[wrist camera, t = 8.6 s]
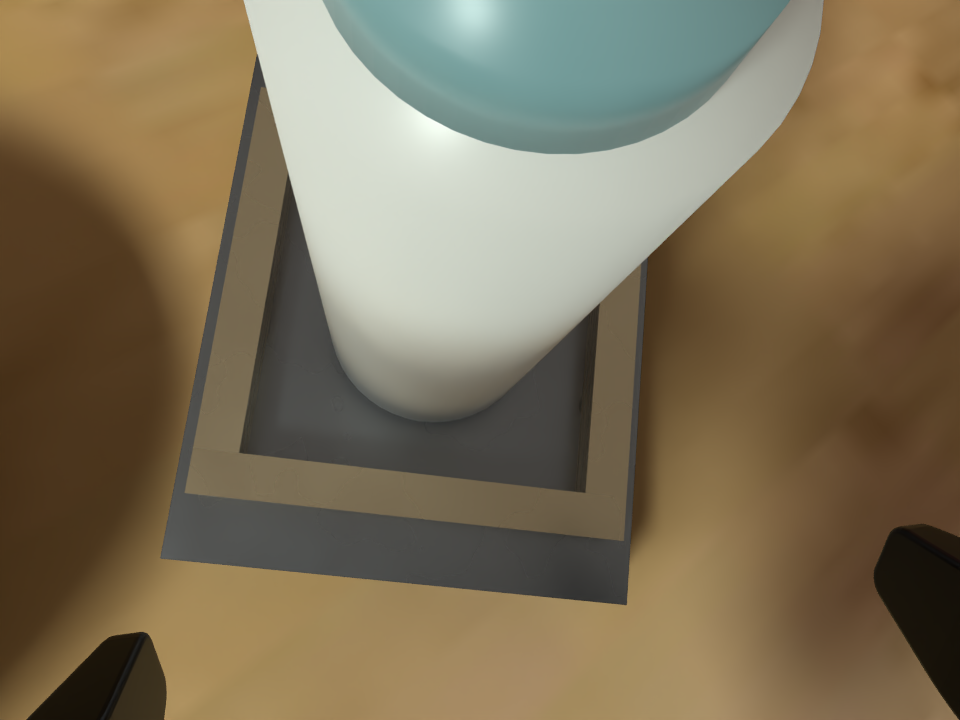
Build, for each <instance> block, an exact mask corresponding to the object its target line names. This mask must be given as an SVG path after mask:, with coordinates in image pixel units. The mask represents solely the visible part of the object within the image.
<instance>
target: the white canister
mask: <svg viewBox="0 0 960 720" xmlns="http://www.w3.org/2000/svg"><path fill="white" fill-rule="evenodd" d="M823 2H824V0H244V3H245V7H246V11H247V15H248V19H249V23H250V26H251V30H252V34H253V38H254V42H255V46H256V50H257V53H258V57H259V61H260V65H261V69H262V73H263V77H264V80H265V84H266V88H267V92H268V96H269V100H270V104H271V107H272V111H273V115H274V119H275V123H276V127H277V131H278V134H279V138H280V142H281V146H282V150H283V154H284V158H285V161H286V165H287V169H288V173H289V177H290V181H291V185H292V189H293V192H294V196H295V200H296V204H297V208H298V212H299V216H300V219H301V223H302V227H303V231H304V235H305V239H306V243H307V246H308V250H309V254H310V258H311V262H312V266H313V270H314V273H315V277H316V281H317V285H318V289H319V293H320V297H321V300H322V304H323V308H324V312H325V316H326V320H327V324H328V327H329V331H330V335H331V339H332V343H333V346H334V349H335V353H336V356H337V358H338V360H339V362H340V364H341V367H342V369H343V370H344V372H345V373H346V375H347V376H348V378H349V379H350V381H351V382H352V383H353V384H354V385H355V387H356V388H357V389H358V390H359V391H360V392H361V393H362V394H363V395H364V396H366V397H367V398H368V399H369V400H370V401H372V402H373V403H375V404H376V405H378V406H379V407H381V408H383V409H385V410H386V411H388V412H390V413H392V414H395V415H398V416H401V417H404V418H407V419H411V420H416V421H423V422H447V421H453V420H458V419H462V418H465V417H468V416H471V415H474V414H476V413H478V412H480V411H482V410H484V409H486V408H488V407H489V406H491V405H492V404H494V403H495V402H497V401H498V400H499V399H500V398H501V397H503V396H504V395H505V394H506V393H507V392H508V391H509V390H510V389H511V388H512V387H513V386H514V385H515V384H516V383H517V382H518V381H520V380H521V379H522V378H523V377H524V376H525V375H526V374H527V373H528V372H529V371H530V370H531V369H532V368H533V367H534V366H535V365H536V364H537V363H538V362H539V361H540V360H541V359H542V358H543V357H544V356H545V355H547V354H548V353H549V352H550V351H551V350H552V349H553V348H554V347H555V346H556V345H557V344H558V343H559V342H560V341H561V340H562V339H563V338H564V337H565V336H566V335H567V334H568V333H569V332H570V331H571V330H572V329H573V328H575V327H576V326H577V325H578V324H579V323H580V322H581V321H582V320H583V319H584V318H585V317H586V316H587V315H588V314H589V313H590V312H591V311H592V310H593V309H594V308H595V307H596V306H597V305H598V304H599V303H600V302H601V301H603V300H604V299H605V298H606V297H607V296H608V295H609V294H610V293H611V292H612V291H613V290H614V289H615V288H616V287H617V286H618V285H619V284H620V283H621V282H622V281H623V280H624V279H625V278H626V277H627V276H628V275H629V274H631V273H632V272H633V271H634V270H635V269H636V268H637V267H638V266H639V265H640V264H641V263H642V262H643V261H644V260H645V259H646V258H647V257H648V256H649V255H650V254H651V253H652V252H653V251H654V250H655V249H656V248H657V247H659V246H660V245H661V244H662V243H663V242H664V241H665V240H666V239H667V238H668V237H669V236H670V235H671V234H672V233H673V232H674V231H675V230H676V229H677V228H678V227H679V226H680V225H681V224H682V223H683V222H684V221H686V220H687V219H688V218H689V217H690V216H691V215H692V214H693V213H694V212H695V211H696V210H697V209H698V208H699V207H700V206H701V205H702V204H703V203H704V202H705V201H706V200H707V199H708V198H709V197H710V196H711V195H712V194H714V193H715V192H716V191H717V190H718V189H719V188H720V187H721V186H722V185H723V184H724V183H725V182H726V181H727V180H728V179H729V178H730V177H731V176H732V175H733V174H734V173H735V172H736V171H737V170H738V169H739V168H740V167H742V166H743V165H744V164H745V163H746V162H747V161H748V160H749V159H750V158H751V157H752V156H753V155H754V154H755V153H756V152H757V151H758V150H759V149H760V148H761V147H762V146H763V144H764V143H765V142H766V141H767V140H768V139H769V138H770V136H771V135H772V134H773V133H774V132H775V131H776V129H777V128H778V127H779V126H780V125H781V124H782V122H783V120H784V119H785V117H786V116H787V114H788V112H789V111H790V109H791V108H792V106H793V104H794V103H795V101H796V100H797V98H798V96H799V94H800V92H801V90H802V87H803V85H804V83H805V80H806V78H807V76H808V74H809V71H810V69H811V67H812V63H813V60H814V56H815V52H816V48H817V44H818V40H819V36H820V31H821V21H822V12H823Z"/></svg>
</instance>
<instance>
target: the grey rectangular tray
mask: <svg viewBox="0 0 960 720" xmlns="http://www.w3.org/2000/svg"><path fill="white" fill-rule="evenodd" d="M647 263H648V257H647V258H646V259H645V260H644V261H643V262H642V263H641V264H640V265H639V266H638V267H637V268H636V269H635V270H634V271H633V272H632V273H631V274H629V275H628V276H627V277H626V278H625V279H624V280H623V281H622V282H621V283H620V284H619V285H618V286H617V287H616V288H615V289H614V290H613V291H612V292H611V293H610V294H609V295H608V296H607V297H606V298H605V299H604V300H603V301H601V302H600V303H599V304H598V305H597V306H596V307H595V308H594V309H593V310H592V311H591V312H590V313H589V314H588V315H587V316H586V317H585V318H584V319H583V320H582V321H581V322H580V323H579V324H578V325H577V326H576V327H575V328H573V329H572V330H571V331H570V332H569V333H568V334H567V335H566V336H565V337H564V338H563V339H562V340H561V341H560V342H559V343H558V344H557V345H556V346H555V347H554V348H553V349H552V350H551V351H550V352H549V353H548V354H547V355H545V356H544V357H543V358H542V359H541V360H540V361H539V362H538V363H537V364H536V365H535V366H534V367H533V368H532V369H531V370H530V371H529V372H528V373H527V374H526V375H525V376H524V377H523V378H522V379H521V380H520V381H518V382H517V383H516V384H515V385H514V386H513V387H512V388H511V389H510V390H509V391H508V392H507V393H506V394H505V395H504V396H503V397H501V398H500V399H499V400H498V401H497V402H495V403H494V404H492V405H491V406H489V407H488V408H486V409H484V410H482V411H480V412H478V413H476V414H474V415H471V416H468V417H465V418H462V419H458V420H453V421H447V422H423V421H416V420H411V419H407V418H404V417H401V416H398V415H395V414H392V413H390V412H388V411H386V410H385V409H383V408H381V407H379V406H378V405H376V404H375V403H373V402H372V401H370V400H369V399H368V398H367V397H366V396H364V395H363V394H362V393H361V392H360V391H359V390H358V389H357V388H356V387H355V385H354V384H353V383H352V382H351V381H350V379H349V378H348V376H347V375H346V373H345V372H344V370H343V369H342V367H341V364H340V362H339V360H338V358H337V356H336V353H335V349H334V346H333V343H332V339H331V335H330V331H329V327H328V324H327V320H326V316H325V312H324V308H323V304H322V300H321V297H320V293H319V289H318V285H317V281H316V277H315V273H314V270H313V266H312V262H311V258H310V254H309V250H308V246H307V243H306V239H305V235H304V231H303V227H302V223H301V219H300V216H299V212H298V208H297V204H296V200H295V196H294V192H293V189H292V185H291V181H290V177H289V173H288V169H287V165H286V161H285V158H284V154H283V150H282V146H281V142H280V138H279V134H278V131H277V127H276V123H275V119H274V115H273V111H272V107H271V104H270V100H269V96H268V92H267V88H266V84H265V80H264V77H263V73H262V69H261V65H260V61H259V57H258V54H257V57H256V62H255V68H254V73H253V78H252V83H251V88H250V94H249V99H248V104H247V109H246V114H245V120H244V125H243V130H242V135H241V140H240V146H239V151H238V156H237V161H236V167H235V172H234V177H233V182H232V187H231V193H230V198H229V203H228V208H227V213H226V219H225V224H224V229H223V234H222V240H221V245H220V250H219V255H218V260H217V266H216V271H215V276H214V281H213V286H212V292H211V297H210V302H209V307H208V312H207V318H206V323H205V328H204V333H203V339H202V344H201V349H200V354H199V359H198V365H197V370H196V375H195V380H194V385H193V391H192V396H191V401H190V406H189V411H188V417H187V422H186V427H185V432H184V438H183V443H182V448H181V453H180V458H179V464H178V469H177V474H176V479H175V484H174V490H173V495H172V500H171V505H170V510H169V516H168V521H167V526H166V531H165V537H164V542H163V547H162V552H161V557H160V558H161V559H171V560H181V561H191V562H201V563H211V564H222V565H232V566H242V567H252V568H262V569H272V570H282V571H292V572H302V573H312V574H322V575H332V576H342V577H352V578H362V579H372V580H382V581H392V582H402V583H412V584H422V585H432V586H442V587H452V588H462V589H472V590H482V591H492V592H502V593H512V594H522V595H532V596H542V597H552V598H562V599H572V600H582V601H592V602H602V603H612V604H622V605H627V591H628V574H629V558H630V542H631V525H632V509H633V492H634V476H635V460H636V443H637V427H638V411H639V394H640V378H641V362H642V345H643V329H644V312H645V296H646V280H647Z"/></svg>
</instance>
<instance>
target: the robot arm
mask: <svg viewBox="0 0 960 720" xmlns="http://www.w3.org/2000/svg"><path fill="white" fill-rule="evenodd" d="M874 583H875V587H876V590H877V592H878V594H879V596H880V597H881V599H882V601H883V602H884V604H885V606H886V607H887V609H888V611H889V612H890V614H891V616H892V617H893V619H894V620H895V622H896V624H897V625H898V627H899V629H900V630H901V632H902V634H903V635H904V637H905V638H906V640H907V642H908V643H909V645H910V647H911V648H912V650H913V652H914V653H915V655H916V656H917V658H918V660H919V661H920V663H921V665H922V666H923V668H924V670H925V671H926V673H927V674H928V676H929V678H930V679H931V681H932V682H933V684H934V685H935V687H936V688H937V690H938V691H939V693H940V694H941V696H942V697H943V699H944V700H945V701H946V703H947V704H948V706H949V707H950V708H951V710H952V711H953V712H954V714H955V715H956V716H957V718H958V719H959V720H960V537H958V536H955V535H953V534H950V533H948V532H945V531H942V530H940V529H937V528H935V527H932V526H929V525H926V524H916V525H908V526H901V527H897V528H894V529H893V530H892V531H891V532H890V534H889V535H888V538H887V540H886V543H885V545H884V547H883V550H882V552H881V555H880V557H879V559H878V562H877V564H876V566H875V569H874ZM166 693H167V691H166V680H165V676H164V673H163V670H162V667H161V664H160V662H159V659H158V656H157V653H156V651H155V648H154V645H153V642H152V640H151V638H150V636H149V635H148V634H147V633H145V632H136V633H129V634H122V635H115V636H111V637H109V638H107V639H106V640H105V641H104V642H102V643H101V644H100V645H99V646H98V647H97V648H96V649H95V650H94V651H93V652H92V653H91V655H90V656H89V657H88V658H87V659H86V660H85V661H84V662H83V663H82V664H81V665H80V666H79V667H78V668H77V669H76V670H75V671H74V672H73V673H72V674H71V675H70V676H69V677H68V678H67V679H66V680H65V681H64V682H63V683H62V684H61V685H60V686H59V687H58V688H57V689H56V690H55V691H54V692H53V693H52V694H51V695H50V696H49V697H48V698H47V699H46V700H45V701H44V702H43V703H42V704H41V705H40V706H39V707H38V708H37V709H36V710H35V711H34V712H33V713H32V714H31V715H30V716H29V717H28V718H27V719H26V720H164V715H165V707H166Z"/></svg>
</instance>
